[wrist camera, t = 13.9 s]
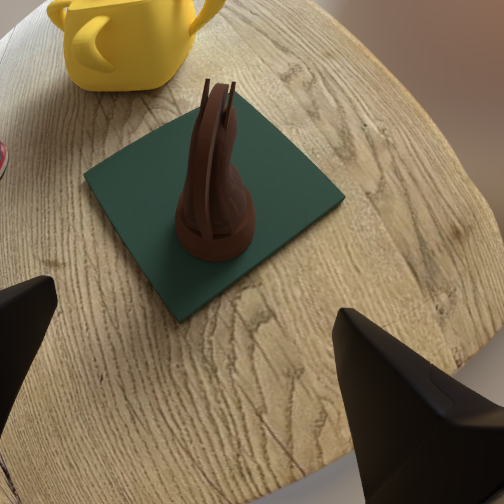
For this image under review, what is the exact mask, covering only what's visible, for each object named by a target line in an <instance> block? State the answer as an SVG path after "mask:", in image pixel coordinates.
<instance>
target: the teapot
mask: <svg viewBox="0 0 504 504" xmlns="http://www.w3.org/2000/svg"><path fill="white" fill-rule="evenodd" d="M225 1H226V0H206V1H205V4H204V6H203V8H202V10H201V12H200V13H199V15H198V16H197V18H196V16H195V9H194V4H193V0H55V1H53V2H52V3H50V4H49V6H48V7H47V14H48V17H49V18H50V20H51V21H52V22H53V23H54V24H55V25H56V26H57V27H58V28H59V29H61V30H62V31H63V32H64V57H65V63H66V68H67V71H68V74H69V77H70V79H71V80H72V81H73V82H74V83H75V84H76V85H78V86H79V87H80V88H82V89H84V90H87V91H137V90H150V89H155V88H158V87H160V86H162V85H164V84H165V83H166V82H168V81H169V80H170V79H171V78H172V77H173V76H174V74H175V73H176V72H177V70H178V69H179V68H180V66H181V65H182V63H183V62H184V60H185V59H186V57H187V55H188V53H189V52H190V50H191V48H192V45H193V43H194V40H195V36H196V32H197V31H198V30H199V29H200V28H202V27H203V26H204V25H205V24H206V23H207V22H208V21H210V20H211V19H212V18H213V17H214V16H215V15H216V14H217V13H218V12H219V11H220V10H221V8H222V7H223V5H224V3H225ZM65 7H68V9H67V13H66V11H65V9H64V8H65Z"/></svg>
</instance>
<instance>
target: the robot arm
mask: <svg viewBox="0 0 504 504" xmlns="http://www.w3.org/2000/svg"><path fill="white" fill-rule="evenodd" d="M57 303H58V299H57V294H56V289H55V283H54V280H53V278H52V277H50V276H44V275H41V276H38V277H35V278H32V279H30V280H27V281H24V282H22V283H19V284H16V285H14V286H11V287H8V288H6V289H3V290H1V291H0V438H1V435H2V432H3V429H4V427H5V424H6V422H7V419H8V416H9V414H10V411H11V409H12V407H13V404H14V402H15V399H16V397H17V395H18V392H19V390H20V388H21V386H22V383H23V381H24V379H25V377H26V375H27V372H28V370H29V368H30V366H31V364H32V362H33V360H34V358H35V356H36V354H37V352H38V350H39V348H40V346H41V343H42V341H43V339H44V336H45V334H46V331H47V329H48V326H49V324H50V321H51V319H52V317H53V314H54V312H55V309H56V307H57ZM332 340H333V347H334V355H335V363H336V371H337V377H338V382H339V386H340V390H341V394H342V398H343V402H344V406H345V410H346V415H347V419H348V423H349V427H350V432H351V436H352V440H353V445H354V449H355V454H356V458H357V463H358V468H359V472H360V477H361V482H362V487H363V492H364V496H365V500H366V501H365V503H366V504H504V407H501V406H499V405H497V404H495V403H493V402H491V401H489V400H488V399H486V398H485V397H483V396H481V395H480V394H478V393H476V392H475V391H473V390H471V389H470V388H468V387H466V386H465V385H463V384H462V383H460V382H458V381H457V380H455V379H454V378H452V377H451V376H449V375H448V374H446V373H445V372H443V371H442V370H440V369H439V368H437V367H436V366H435V365H433V364H430V362H429V361H427V360H426V359H425V358H423V357H422V356H420V355H419V354H418V353H416V352H415V351H413V350H412V349H410V348H409V347H408V346H406V345H405V344H403V343H402V342H401V341H399V340H398V339H396V338H395V337H393V336H392V335H391V334H389V333H388V332H386V331H385V330H383V329H382V328H381V327H379V326H378V325H376V324H375V323H373V322H372V321H371V320H369V319H368V318H366V317H365V316H363V315H362V314H361V313H359V312H358V311H356V310H355V309H353V308H340V309H339V311H338V313H337V317H336V320H335V323H334V327H333V330H332Z"/></svg>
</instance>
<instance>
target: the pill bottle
mask: <svg viewBox="0 0 504 504" xmlns="http://www.w3.org/2000/svg"><path fill="white" fill-rule="evenodd" d="M7 161H8V151H7V149H6V147H5V145H4V144H3V143H2V141H1V140H0V177H1V176H2V174H3V172H4V170H5V168H6V165H7Z"/></svg>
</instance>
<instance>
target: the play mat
mask: <svg viewBox="0 0 504 504" xmlns="http://www.w3.org/2000/svg"><path fill="white" fill-rule="evenodd" d="M229 94H230V93H228V94H227V100H226V105H228V99H229ZM233 106H234V108H235V111H236V116H237V125H238V127H237V136H236V140H235V144H234V147H233V151H232V155H231V160H230V162H231V163H232V164H234V165H235V166H236V168H237V169H238V171H239V173H240V176H241V178H242V181H243V184H244V186H245V187H246V188H247V189H248V191H249V193H250V195H251V198H252V202H253V205H254V208H255V214H256V228H255V233H254V236H253V239H252V241H251V243H250V245H249V246H248V247H247V248H246V250H245V251H244V252H242V253H241V254H240V255H238V256H237V257H235V258H233V259H231V260H227V261H223V262H209V261H204V260H201V259H198V258H196V257H194V256H193V255H191V254H190V253H188V252H187V251H186V250H185V249H184V247H183V246H182V245H181V243H180V241H179V239H178V237H177V233H176V228H175V213H176V209H177V206H178V200H179V197H180V195H181V193H182V191H183V188H184V183H185V179H186V175H187V166H188V157H189V148H190V141H191V135H192V131H193V127H194V124H195V121H196V118H197V116H198V114H199V111H200V107H198V108H196V109H194V110H192V111H190V112H188V113H186V114H184V115H182V116H180V117H178V118H176V119H174V120H172V121H171V122H169V123H167V124H165V125H163V126H161V127H159V128H158V129H156V130H154V131H152V132H150V133H149V134H147V135H145V136H143V137H142V138H140V139H138V140H137V141H135V142H133V143H131V144H130V145H128V146H126V147H125V148H123V149H121V150H120V151H118V152H117V153H115V154H113V155H112V156H110V157H109V158H107V159H105V160H104V161H102V162H101V163H99V164H98V165H96V166H95V167H93V168H92V169H90V170H89V171H87V172H86V173H84V174H83V175H84V177H85V179H86V181H87V182H88V184H89V186H90V188H91V189H92V191H93V193H94V195H95V196H96V198H97V200H98V201H99V203H100V205H101V206H102V208H103V210H104V211H105V213H106V215H107V216H108V218H109V220H110V221H111V223H112V225H113V226H114V228H115V229H116V231H117V233H118V234H119V236H120V237H121V239H122V241H123V242H124V244H125V245H126V247H127V248H128V250H129V251H130V253H131V255H132V256H133V258H134V259H135V261H136V262H137V264H138V265H139V267H140V268H141V270H142V271H143V273H144V274H145V276H146V277H147V279H148V280H149V281H150V283H151V284H152V286H153V287H154V289H155V290H156V292H157V293H158V294H159V296H160V297H161V299H162V300H163V301H164V303H165V304H166V306H167V307H168V308H169V310H170V311H171V313H172V314H173V315H174V317H175V318H176V319H177V321H178V322H179V323H181V322H183V321H184V320H185V319H187V318H188V317H189V316H191V315H192V314H193V313H195V312H196V311H198V310H199V309H200V308H202V307H203V306H204V305H206V304H207V303H208V302H210V301H211V300H212V299H214V298H215V297H216V296H218V295H219V294H220V293H222V292H223V291H224V290H226V289H227V288H229V287H230V286H231V285H233V284H234V283H235V282H237V281H238V280H239V279H241V278H242V277H243V276H245V275H246V274H247V273H249V272H250V271H251V270H253V269H254V268H255V267H257V266H258V265H259V264H261V263H262V262H263V261H265V260H266V259H267V258H269V257H270V256H271V255H273V254H274V253H275V252H276V251H278V250H279V249H280V248H282V247H283V246H284V245H286V244H287V243H288V242H290V241H291V240H292V239H294V238H295V237H296V236H298V235H299V234H300V233H302V232H303V231H304V230H306V229H307V228H308V227H309V226H311V225H312V224H313V223H315V222H316V221H317V220H319V219H320V218H321V217H323V216H324V215H325V214H326V213H328V212H329V211H330V210H332V209H333V208H334V207H336V206H337V205H338V204H340V203H341V202H342V201H343V200H344V199H345V195H344V194H343V193H342V192H341V191H340V190H339V189H338V188H337V187H336V186H335V185H334V184H333V183H332V182H331V181H330V180H329V179H328V177H327V176H326V175H325V174H324V173H323V172H322V171H321V170H320V169H319V168H318V167H317V166H316V165H315V164H314V163H313V162H312V161H311V160H310V159H309V158H308V157H307V156H306V155H305V154H304V153H303V152H301V151H300V150H299V149H298V148H297V147H296V146H295V145H294V144H293V143H292V142H291V141H290V140H289V139H288V138H287V137H286V136H285V135H284V134H283V133H282V132H280V131H279V130H278V129H277V128H276V127H275V126H274V125H273V124H272V123H271V122H270V121H268V120H267V119H266V118H265V117H264V116H263V115H262V114H261V113H260V112H258V111H257V110H256V109H255V108H254V107H253V106H252V105H251V104H249V103H248V102H247V101H246V100H245V99H244V98H242V97H241V96H240V95H239V94H238V93H237V92H235V91H234V99H233Z"/></svg>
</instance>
